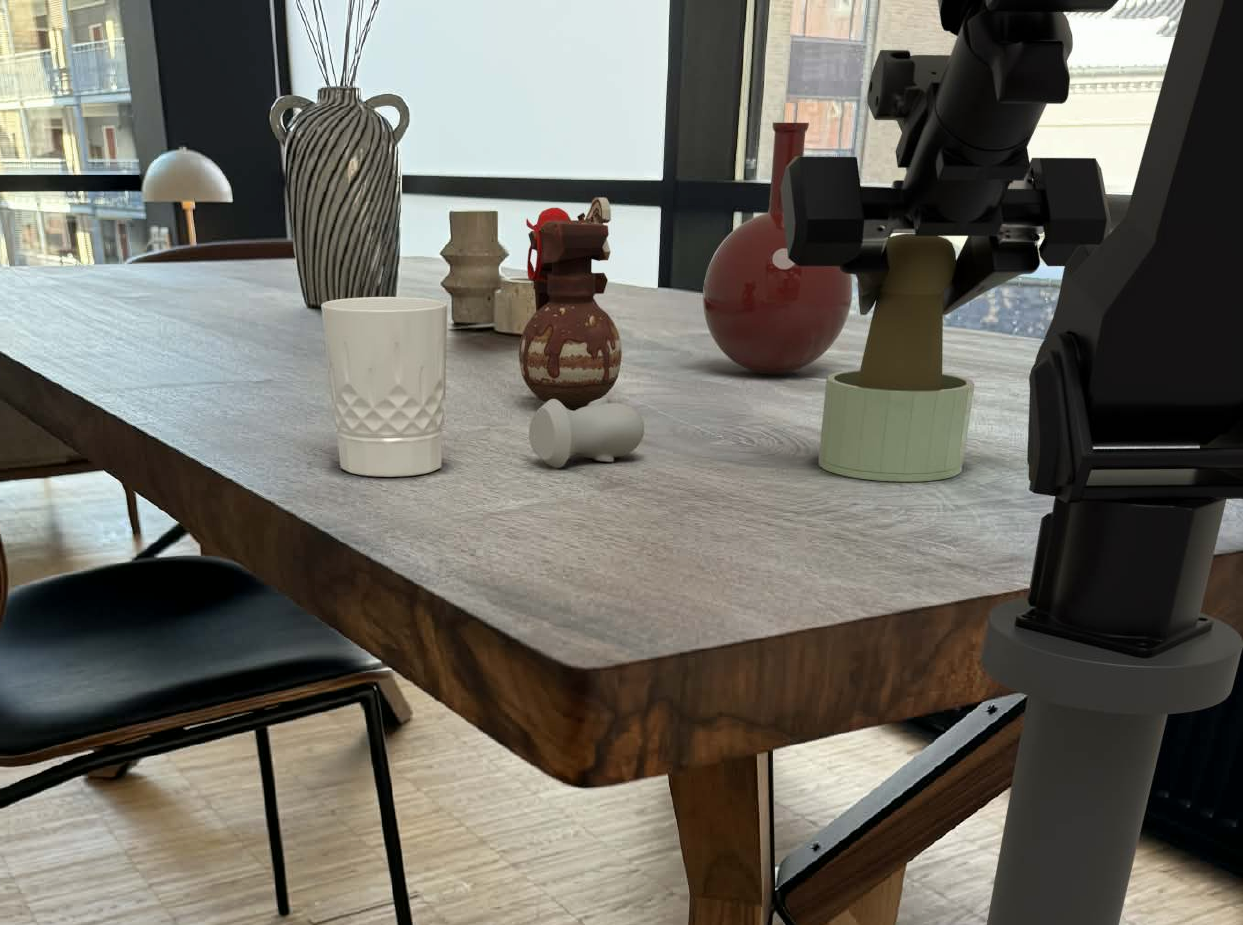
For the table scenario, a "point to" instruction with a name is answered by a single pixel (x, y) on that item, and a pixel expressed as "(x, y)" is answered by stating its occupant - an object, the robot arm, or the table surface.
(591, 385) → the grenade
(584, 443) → the pale two-lobed sculpture
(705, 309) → the round-bottom flask
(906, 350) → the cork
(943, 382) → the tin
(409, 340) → the white cup
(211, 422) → the table surface
